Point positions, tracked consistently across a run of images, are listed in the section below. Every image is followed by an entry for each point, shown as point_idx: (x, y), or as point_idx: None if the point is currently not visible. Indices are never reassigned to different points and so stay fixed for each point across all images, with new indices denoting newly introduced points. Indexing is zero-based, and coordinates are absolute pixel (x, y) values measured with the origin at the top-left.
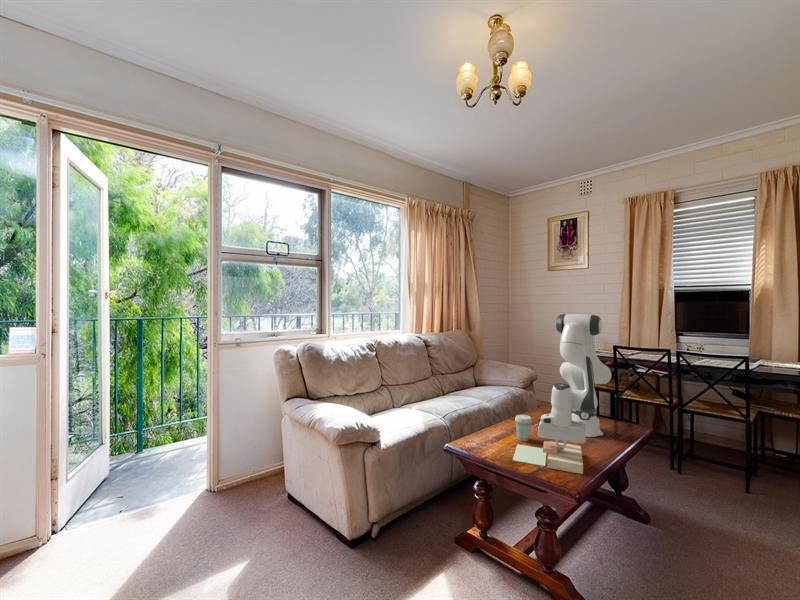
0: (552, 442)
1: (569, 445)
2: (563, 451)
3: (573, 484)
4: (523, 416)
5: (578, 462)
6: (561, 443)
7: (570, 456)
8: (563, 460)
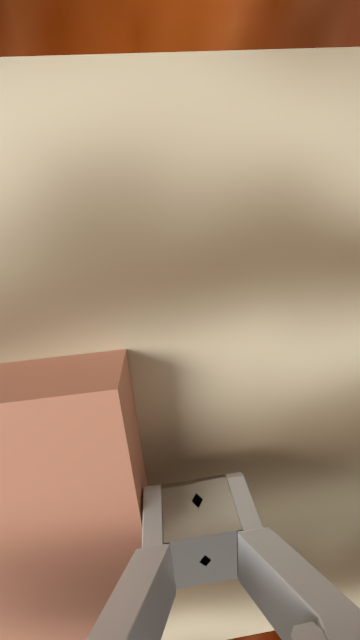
0: (12, 408)
1: (322, 137)
2: (221, 447)
3: (262, 636)
4: None
5: (348, 595)
6: (170, 88)
7: (294, 529)
8: (226, 627)
